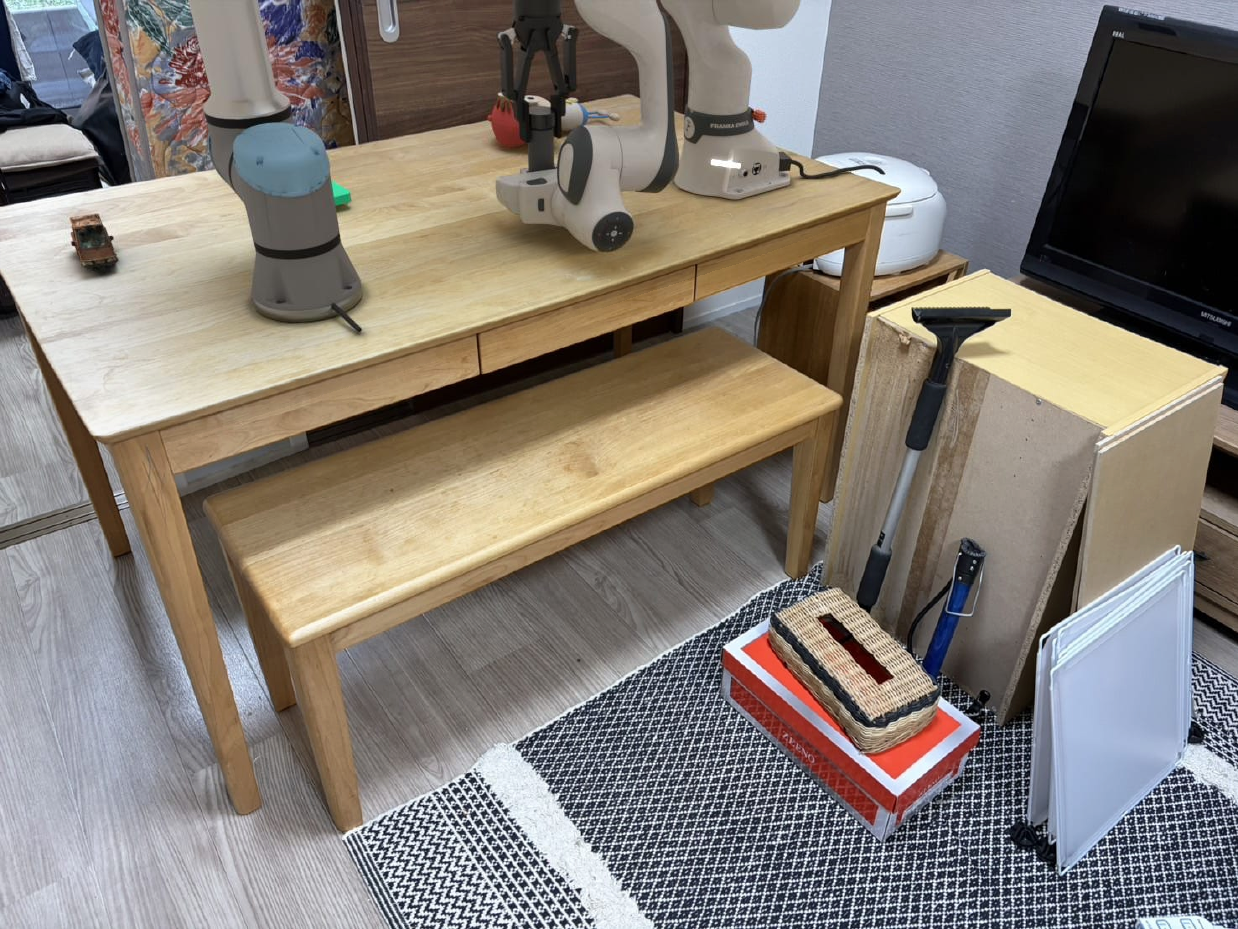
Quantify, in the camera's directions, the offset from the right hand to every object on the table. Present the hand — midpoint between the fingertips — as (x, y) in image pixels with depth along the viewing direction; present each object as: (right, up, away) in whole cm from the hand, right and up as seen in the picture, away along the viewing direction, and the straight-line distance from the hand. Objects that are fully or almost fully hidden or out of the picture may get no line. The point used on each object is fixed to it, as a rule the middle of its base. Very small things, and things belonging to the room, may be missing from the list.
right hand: (539, 170), depth 161 cm
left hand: (+1, +4, -4) cm, 6 cm away
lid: (+1, +8, -7) cm, 10 cm away
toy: (0, +19, +36) cm, 41 cm away
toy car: (-67, -20, -18) cm, 72 cm away
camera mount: (-40, -5, +3) cm, 40 cm away
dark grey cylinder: (0, -6, +3) cm, 7 cm away
